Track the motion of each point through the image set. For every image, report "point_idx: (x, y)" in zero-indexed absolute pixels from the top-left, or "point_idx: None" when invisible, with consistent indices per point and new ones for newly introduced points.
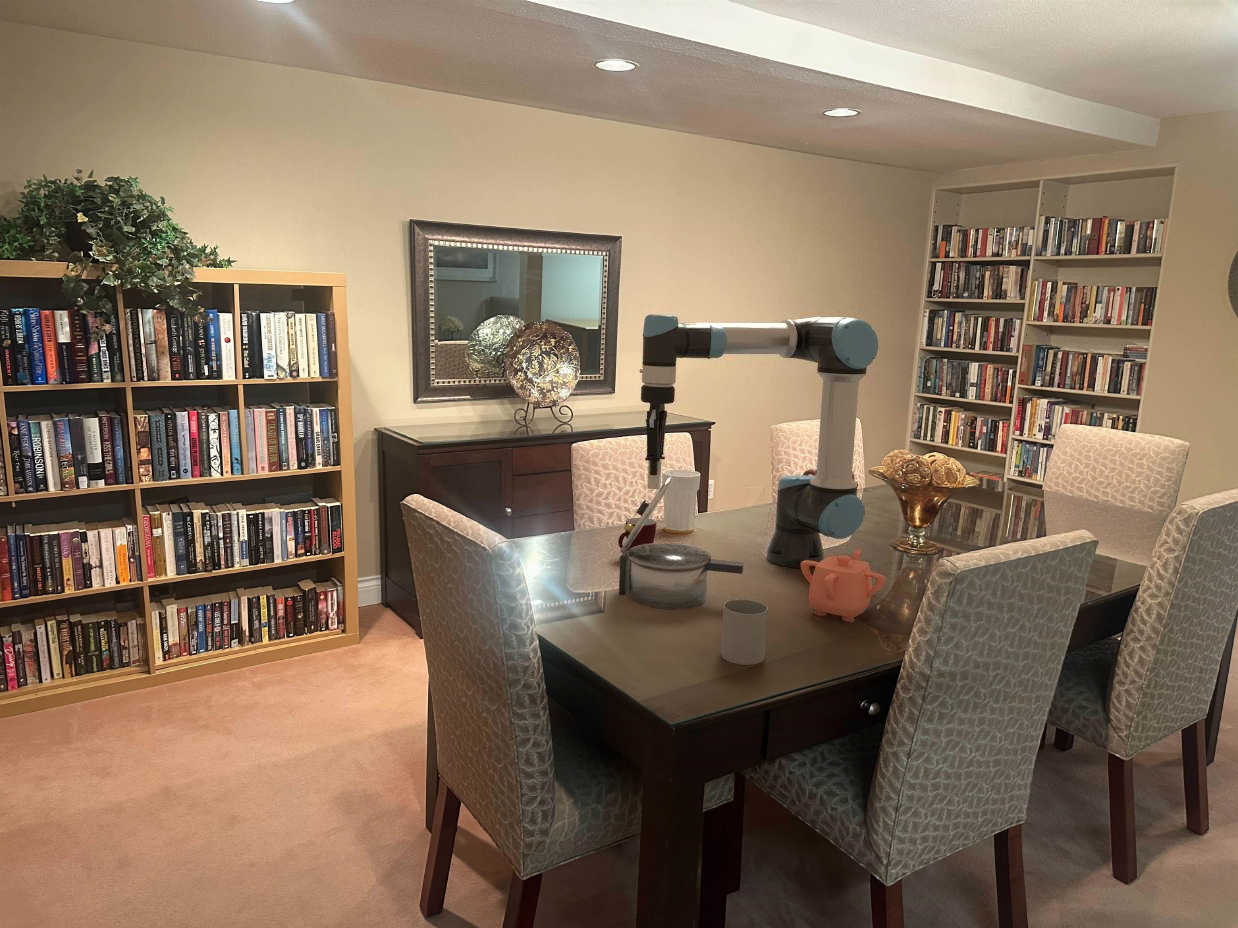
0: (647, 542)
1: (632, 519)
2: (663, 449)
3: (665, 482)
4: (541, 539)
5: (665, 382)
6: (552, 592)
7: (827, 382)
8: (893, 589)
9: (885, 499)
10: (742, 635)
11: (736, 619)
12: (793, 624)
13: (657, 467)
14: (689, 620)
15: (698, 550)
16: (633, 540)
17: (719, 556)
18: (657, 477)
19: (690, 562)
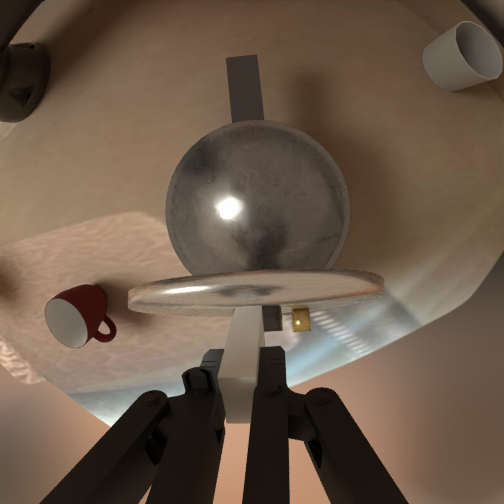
0: (91, 295)
1: (60, 339)
2: (131, 409)
3: (314, 286)
4: (109, 420)
5: None
6: (311, 363)
7: None
8: None
9: None
10: (484, 62)
11: (496, 66)
12: (307, 3)
13: (259, 366)
14: (360, 142)
15: (195, 161)
16: (100, 318)
17: (37, 184)
18: (260, 337)
19: (298, 155)
